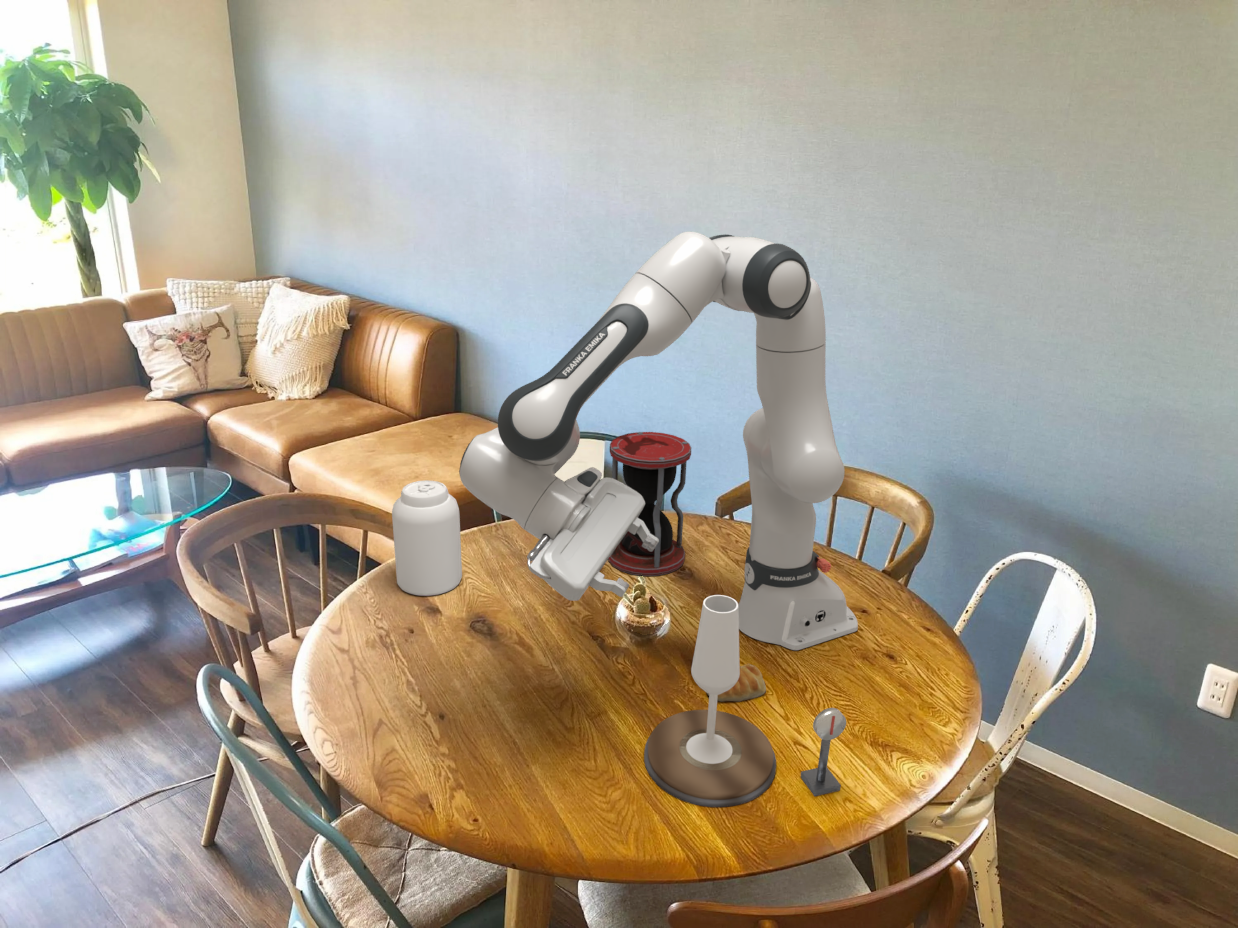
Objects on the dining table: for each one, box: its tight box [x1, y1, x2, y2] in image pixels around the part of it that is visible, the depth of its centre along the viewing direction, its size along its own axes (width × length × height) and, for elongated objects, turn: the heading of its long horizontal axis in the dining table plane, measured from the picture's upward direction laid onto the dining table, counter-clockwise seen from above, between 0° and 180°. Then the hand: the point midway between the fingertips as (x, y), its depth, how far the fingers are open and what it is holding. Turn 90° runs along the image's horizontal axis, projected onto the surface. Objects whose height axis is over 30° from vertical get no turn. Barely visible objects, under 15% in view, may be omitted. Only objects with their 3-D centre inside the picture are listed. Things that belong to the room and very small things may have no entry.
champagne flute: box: [686, 594, 741, 764], centre depth 128 cm, size 7×7×24 cm
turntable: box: [643, 709, 777, 808], centre depth 133 cm, size 19×19×2 cm
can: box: [391, 479, 463, 597], centre depth 175 cm, size 12×12×20 cm
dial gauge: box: [800, 707, 847, 797], centre depth 127 cm, size 4×4×13 cm
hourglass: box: [607, 431, 692, 577], centre depth 186 cm, size 16×16×25 cm
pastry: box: [705, 663, 767, 703], centre depth 148 cm, size 9×7×4 cm
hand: (641, 568), depth 129 cm, fingers open, 8 cm apart
